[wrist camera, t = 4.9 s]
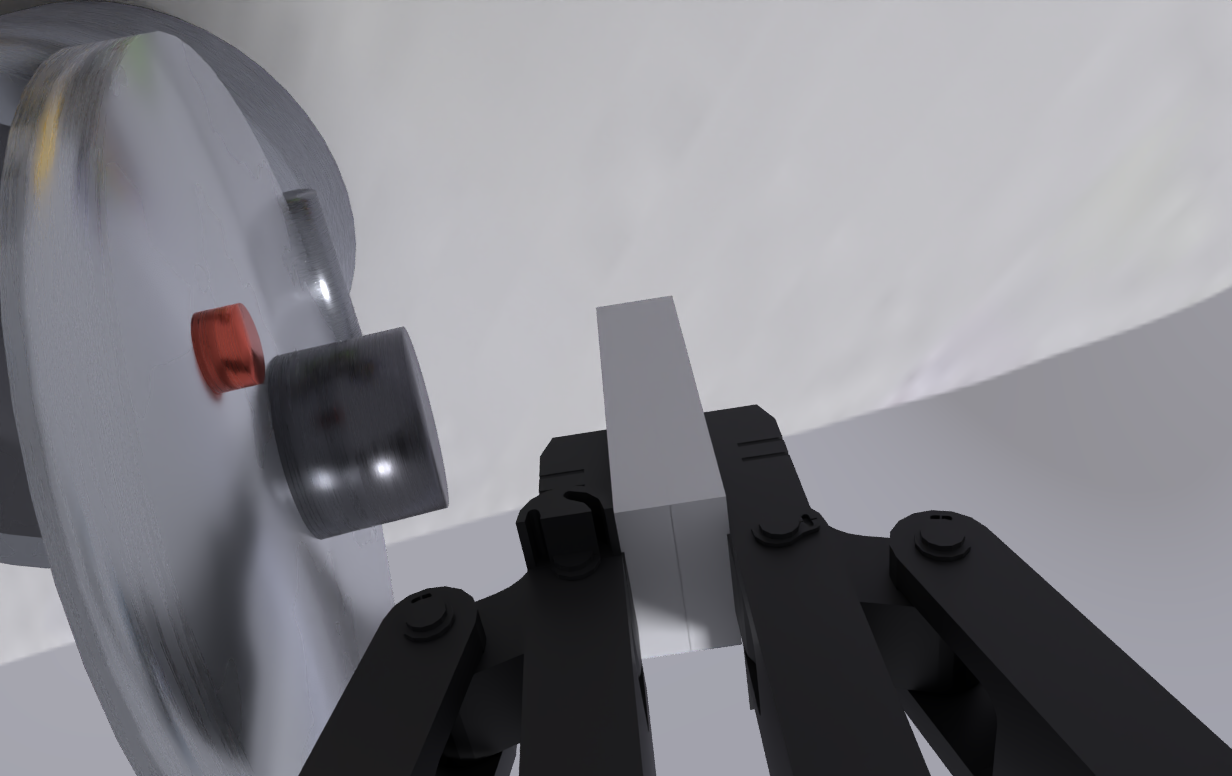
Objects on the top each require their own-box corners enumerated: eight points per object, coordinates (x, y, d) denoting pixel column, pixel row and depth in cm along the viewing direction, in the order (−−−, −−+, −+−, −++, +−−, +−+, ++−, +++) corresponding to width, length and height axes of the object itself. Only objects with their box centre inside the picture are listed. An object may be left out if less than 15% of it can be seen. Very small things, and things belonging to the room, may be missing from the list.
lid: (338, 1098, 14) (559, 1025, 15) (-240, 181, 7) (237, 92, 7) (359, 534, 27) (476, 504, 28) (164, 2, 20) (329, -27, 20)
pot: (76, 497, 38) (-67, 680, 30) (-242, -80, 27) (-614, -60, 19) (465, 438, 38) (437, 606, 29) (299, -173, 27) (175, -196, 18)
